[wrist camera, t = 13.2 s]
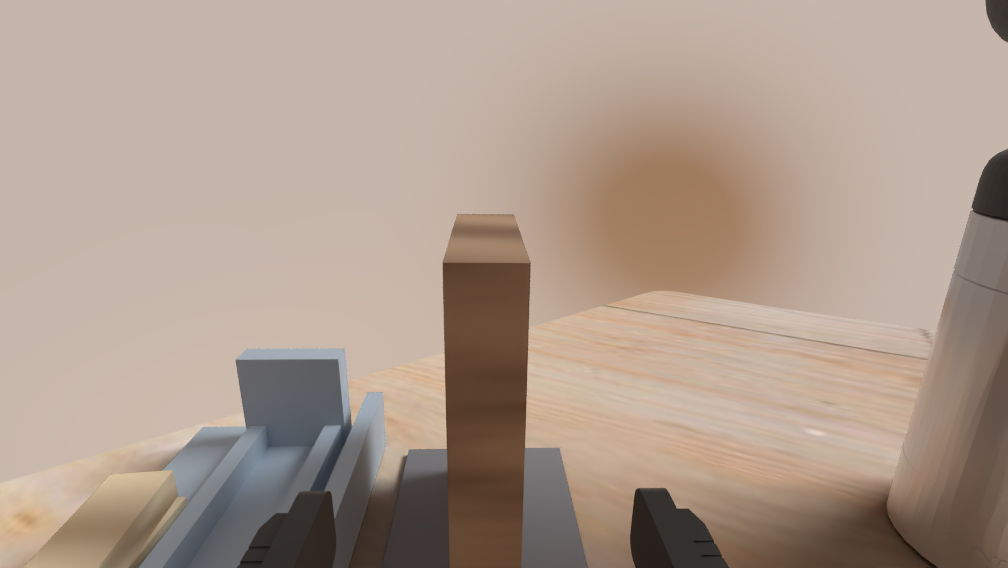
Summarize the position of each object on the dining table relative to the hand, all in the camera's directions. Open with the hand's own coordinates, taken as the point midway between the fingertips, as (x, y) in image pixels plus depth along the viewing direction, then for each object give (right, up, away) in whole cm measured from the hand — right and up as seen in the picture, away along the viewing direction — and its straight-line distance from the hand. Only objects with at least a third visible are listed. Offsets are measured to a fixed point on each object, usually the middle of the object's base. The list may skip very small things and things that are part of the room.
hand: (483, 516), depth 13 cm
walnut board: (0, -7, +13) cm, 15 cm away
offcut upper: (-17, -5, +9) cm, 20 cm away
